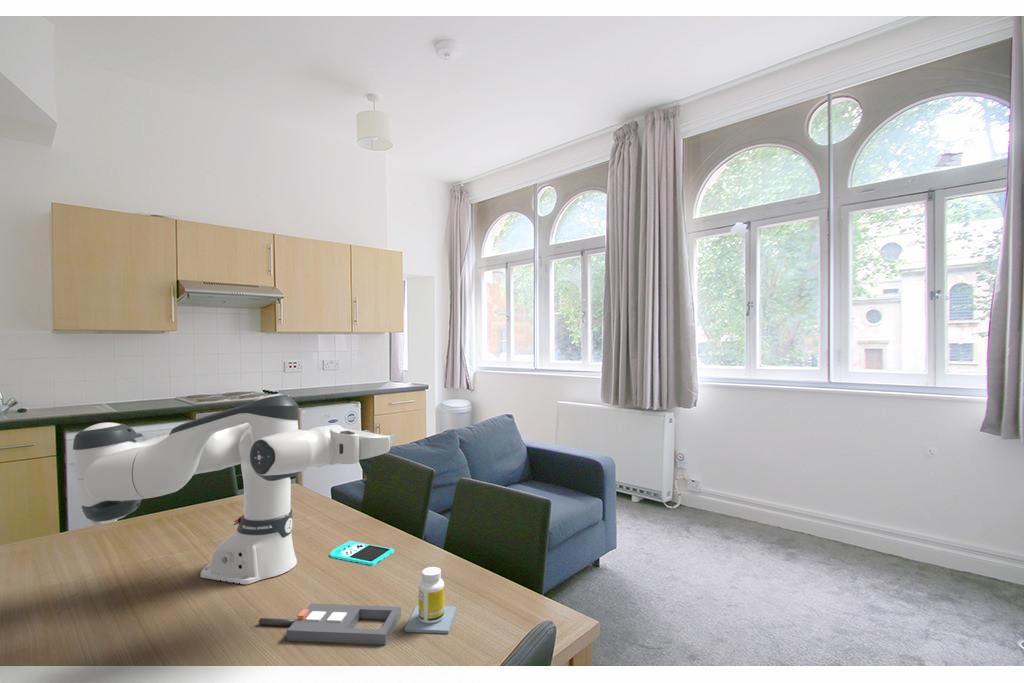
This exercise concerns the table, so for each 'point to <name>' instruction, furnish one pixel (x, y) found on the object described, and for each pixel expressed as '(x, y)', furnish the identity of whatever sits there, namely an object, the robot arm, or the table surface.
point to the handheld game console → (361, 553)
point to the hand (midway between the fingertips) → (381, 435)
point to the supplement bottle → (431, 596)
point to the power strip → (339, 623)
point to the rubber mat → (437, 627)
